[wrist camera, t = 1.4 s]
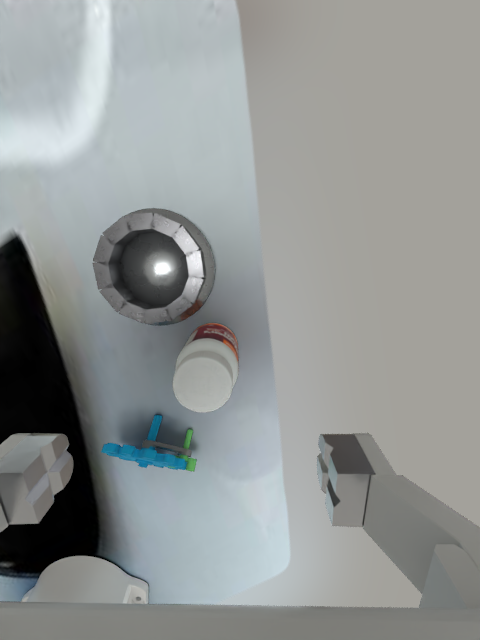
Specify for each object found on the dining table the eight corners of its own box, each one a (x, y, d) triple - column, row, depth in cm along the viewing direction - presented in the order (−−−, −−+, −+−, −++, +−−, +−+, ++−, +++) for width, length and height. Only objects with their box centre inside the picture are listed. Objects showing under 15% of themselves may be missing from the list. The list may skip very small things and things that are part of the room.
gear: (100, 460, 36) (96, 454, 28) (118, 413, 39) (120, 396, 31) (183, 477, 38) (202, 476, 30) (194, 432, 42) (213, 420, 33)
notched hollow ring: (221, 317, 34) (219, 324, 30) (115, 329, 34) (99, 338, 30) (206, 203, 31) (202, 195, 27) (91, 217, 31) (70, 210, 27)
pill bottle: (246, 335, 34) (252, 369, 23) (224, 377, 36) (220, 429, 24) (200, 313, 34) (184, 338, 23) (179, 356, 35) (154, 401, 24)
